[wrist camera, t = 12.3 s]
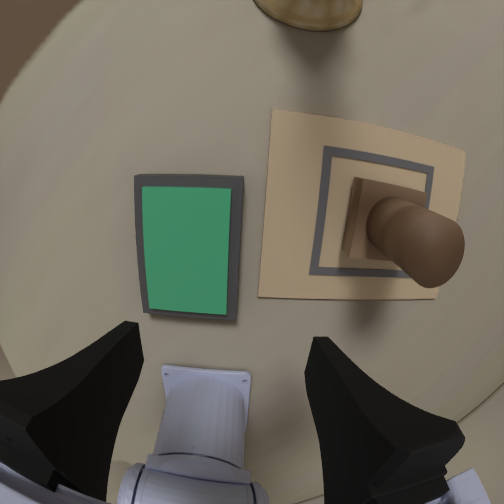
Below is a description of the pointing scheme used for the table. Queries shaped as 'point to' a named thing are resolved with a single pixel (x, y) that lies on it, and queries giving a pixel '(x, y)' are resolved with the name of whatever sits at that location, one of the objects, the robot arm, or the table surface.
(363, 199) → the stamp
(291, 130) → the plate
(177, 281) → the ink pad
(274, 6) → the hand bell
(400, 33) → the table surface
